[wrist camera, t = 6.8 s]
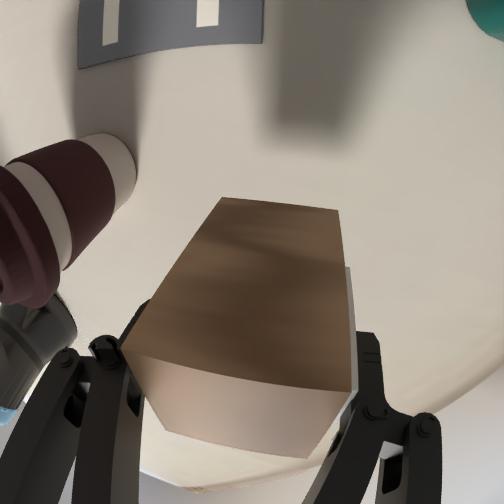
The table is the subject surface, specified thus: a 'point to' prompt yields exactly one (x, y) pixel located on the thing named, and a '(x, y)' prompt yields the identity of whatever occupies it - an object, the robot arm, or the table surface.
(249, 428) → the walnut block
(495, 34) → the pitcher
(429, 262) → the table surface
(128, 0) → the letter mat
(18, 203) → the coffee cup
